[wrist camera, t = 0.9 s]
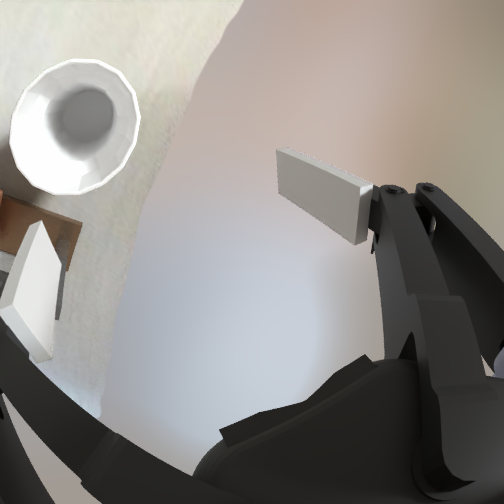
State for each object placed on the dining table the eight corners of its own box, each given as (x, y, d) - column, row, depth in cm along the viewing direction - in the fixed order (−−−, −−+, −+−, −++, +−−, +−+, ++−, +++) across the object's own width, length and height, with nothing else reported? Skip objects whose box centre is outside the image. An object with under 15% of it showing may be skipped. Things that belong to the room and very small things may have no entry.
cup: (39, 147, 30) (-3, 184, 17) (65, 66, 26) (35, 46, 13) (112, 164, 36) (115, 208, 23) (141, 86, 33) (162, 79, 19)
